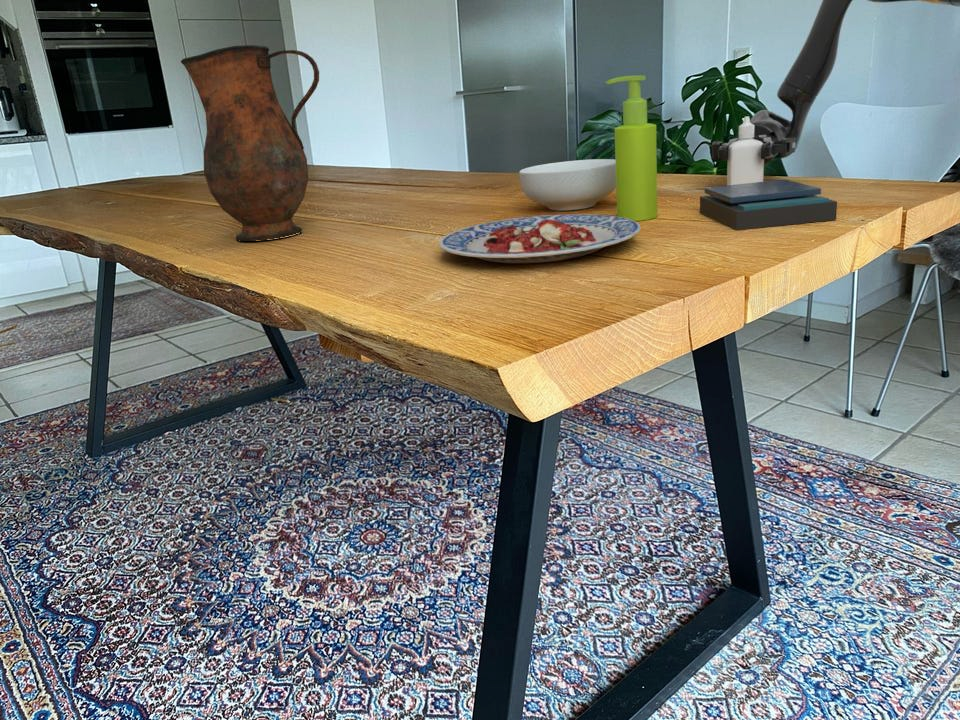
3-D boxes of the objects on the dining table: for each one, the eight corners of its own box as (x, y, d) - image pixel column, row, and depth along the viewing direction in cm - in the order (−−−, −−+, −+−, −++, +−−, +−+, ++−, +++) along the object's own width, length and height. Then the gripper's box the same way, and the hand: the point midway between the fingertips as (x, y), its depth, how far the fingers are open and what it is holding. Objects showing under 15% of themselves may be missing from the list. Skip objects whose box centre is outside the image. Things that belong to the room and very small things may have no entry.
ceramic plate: (424, 246, 105) (422, 225, 104) (593, 222, 110) (592, 202, 109) (466, 285, 81) (463, 258, 80) (678, 252, 86) (678, 227, 85)
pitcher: (231, 233, 134) (193, 56, 124) (348, 221, 135) (320, 44, 125) (206, 251, 118) (161, 50, 108) (339, 237, 119) (307, 36, 109)
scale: (786, 204, 109) (787, 184, 108) (836, 220, 95) (837, 197, 94) (699, 212, 109) (699, 193, 108) (736, 230, 95) (736, 207, 94)
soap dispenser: (616, 214, 115) (612, 77, 108) (661, 213, 111) (660, 72, 105) (605, 221, 110) (600, 78, 103) (651, 220, 107) (649, 73, 100)
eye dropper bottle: (729, 189, 127) (731, 116, 123) (764, 188, 124) (767, 114, 120) (725, 193, 123) (726, 118, 119) (760, 192, 121) (763, 116, 117)
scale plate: (785, 184, 108) (786, 179, 107) (821, 194, 97) (821, 188, 97) (704, 193, 108) (704, 187, 107) (730, 203, 97) (731, 197, 97)
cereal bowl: (610, 195, 134) (608, 155, 131) (632, 208, 118) (631, 163, 116) (517, 205, 133) (514, 165, 131) (527, 219, 118) (524, 174, 115)
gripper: (801, 162, 131) (789, 175, 117) (718, 165, 138) (697, 178, 124) (803, 118, 128) (791, 126, 115) (719, 123, 135) (698, 132, 122)
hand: (742, 153), depth 119 cm, fingers closed on eye dropper bottle, 5 cm apart
